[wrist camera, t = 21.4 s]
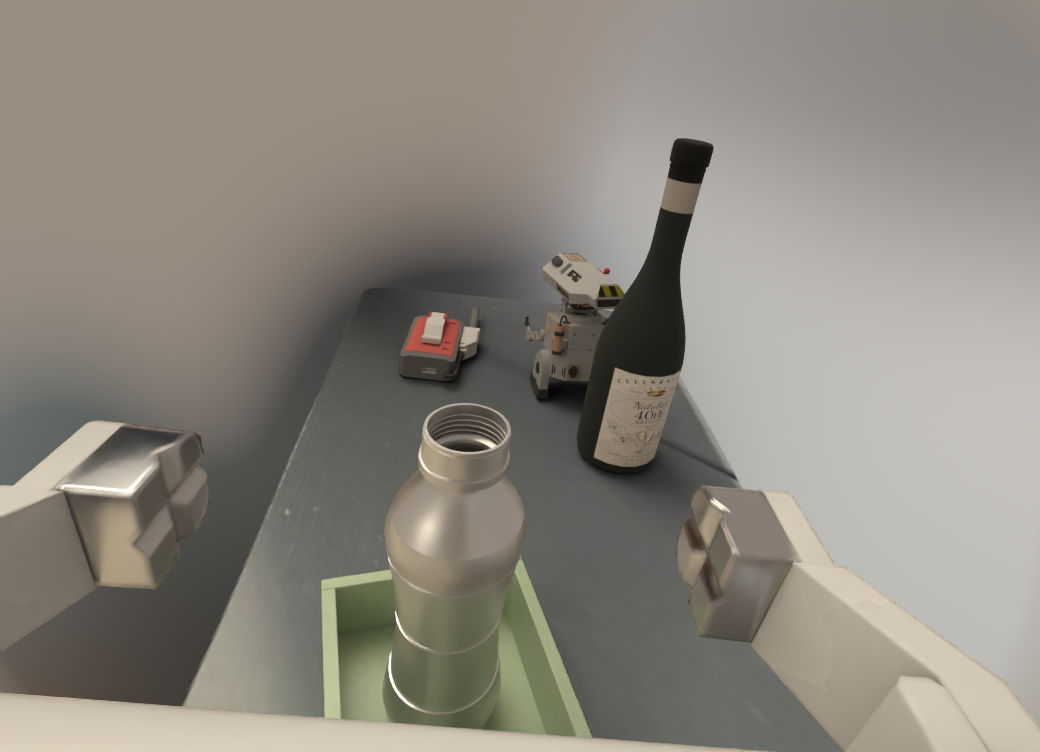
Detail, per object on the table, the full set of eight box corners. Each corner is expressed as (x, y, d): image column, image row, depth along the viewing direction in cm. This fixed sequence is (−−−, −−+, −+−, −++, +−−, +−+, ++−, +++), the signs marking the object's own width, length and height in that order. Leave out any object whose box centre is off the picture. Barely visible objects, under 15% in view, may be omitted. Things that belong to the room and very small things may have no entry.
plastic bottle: (517, 693, 35) (574, 421, 25) (448, 798, 30) (486, 506, 20) (432, 637, 37) (454, 369, 27) (356, 724, 32) (349, 432, 22)
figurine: (585, 360, 76) (608, 250, 69) (614, 408, 66) (644, 286, 59) (518, 359, 74) (534, 245, 67) (537, 408, 64) (559, 282, 57)
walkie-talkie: (471, 391, 66) (482, 319, 83) (474, 357, 64) (485, 290, 81) (393, 382, 65) (422, 312, 83) (394, 347, 63) (423, 283, 80)
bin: (582, 814, 30) (602, 760, 28) (331, 894, 26) (327, 840, 24) (509, 602, 41) (518, 549, 39) (324, 635, 37) (321, 579, 35)
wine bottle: (667, 473, 57) (771, 155, 42) (596, 483, 54) (680, 146, 39) (628, 427, 63) (706, 136, 49) (562, 433, 61) (624, 127, 46)
